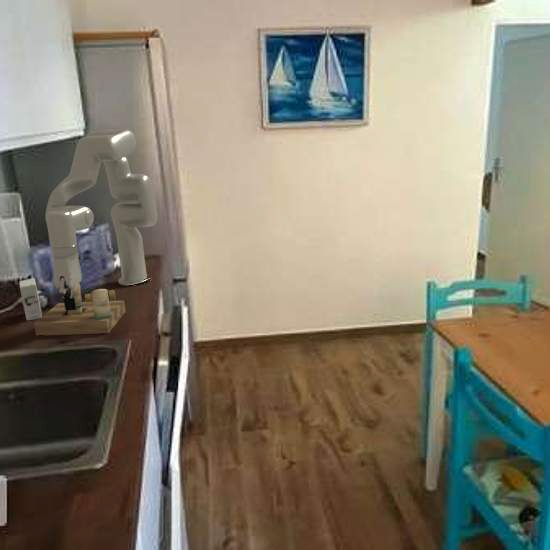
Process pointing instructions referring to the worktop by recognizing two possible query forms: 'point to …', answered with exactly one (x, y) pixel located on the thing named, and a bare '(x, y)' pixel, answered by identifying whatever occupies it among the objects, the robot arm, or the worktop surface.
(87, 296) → the gavel
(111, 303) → the board
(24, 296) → the ink box
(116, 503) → the worktop surface
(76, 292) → the peg
